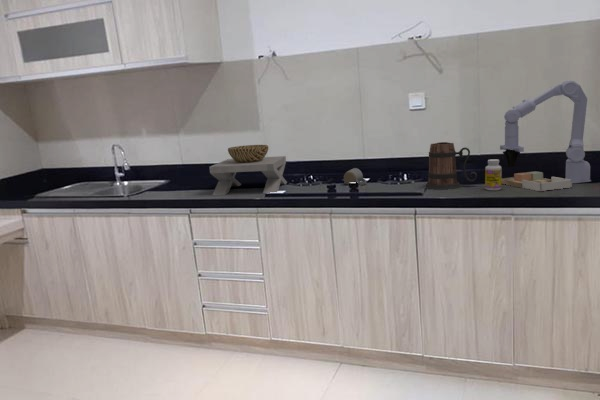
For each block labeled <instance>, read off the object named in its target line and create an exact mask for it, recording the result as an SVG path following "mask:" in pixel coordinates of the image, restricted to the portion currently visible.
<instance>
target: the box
mask: <svg viewBox="0 0 600 400" xmlns="http://www.w3.org/2000/svg"><path fill="white" fill-rule="evenodd" d="M550 179H551V182H547V183H537V182H532V181H527V180H522V188H521V189H524V188H525V190H529V189H530V190H531V191H534V190H535V192H538V191H544V192H547V191H546V190H553V191H555V190H554V189H561V190H564V189H563V188H569V189H571V188H570V187H572V186H573V183H572V180H570V179H566V178H563V177H558V176H557V177H556V176H551V178H550ZM572 188H573V187H572Z"/></svg>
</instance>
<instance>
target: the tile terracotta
mask: <svg viewBox="0 0 600 400" xmlns="http://www.w3.org/2000/svg"><path fill="white" fill-rule="evenodd" d="M513 177H514V180H515V181H520V182H522V180H527V181H531V174H529V173H526V172H517V173H514V174H513Z"/></svg>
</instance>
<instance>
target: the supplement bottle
mask: <svg viewBox="0 0 600 400" xmlns="http://www.w3.org/2000/svg"><path fill="white" fill-rule="evenodd" d="M499 163H500V159H495V158H494V159H488V160H487V165H486V166H485V169H484V170H485V172H484V176H485V177H484V185H485V186H484V188H485V190H487V191H499V190H501V189H502V185H503V184H502V178H503V177H502V175H503V174H502V173H503V171H502V169H503V167H502V166H501V165H500V164H499Z"/></svg>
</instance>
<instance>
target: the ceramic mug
mask: <svg viewBox="0 0 600 400" xmlns="http://www.w3.org/2000/svg"><path fill="white" fill-rule="evenodd" d="M360 181H361V182H360ZM343 182H344V183H345V184H346V185H348V186H350V185H349V182H358V184H357V185H360V186H364V185H366V183H367V180H366V179H365V178H364V175H363V173H362V171H361V170H360V169H359V168H357V167H354V168H352V169H349V170H348V171H345V173H344V174H343Z"/></svg>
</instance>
